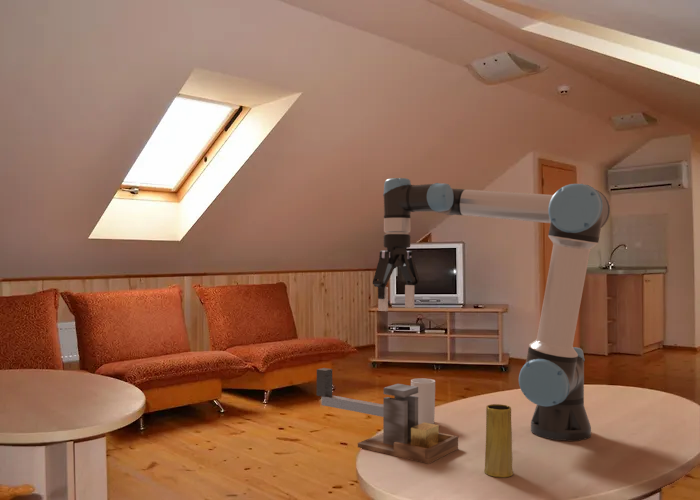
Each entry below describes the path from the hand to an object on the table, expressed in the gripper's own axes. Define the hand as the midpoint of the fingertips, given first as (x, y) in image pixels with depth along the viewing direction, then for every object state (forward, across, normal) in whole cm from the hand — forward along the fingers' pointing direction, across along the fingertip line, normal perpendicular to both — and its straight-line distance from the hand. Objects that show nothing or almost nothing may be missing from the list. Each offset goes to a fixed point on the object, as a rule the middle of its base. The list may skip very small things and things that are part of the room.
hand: (396, 309), depth 178 cm
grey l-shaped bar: (+25, +18, 0) cm, 31 cm away
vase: (+32, +21, +40) cm, 55 cm away
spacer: (+28, +18, +18) cm, 38 cm away
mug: (+32, -5, +6) cm, 33 cm away
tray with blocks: (+32, +18, +15) cm, 39 cm away
